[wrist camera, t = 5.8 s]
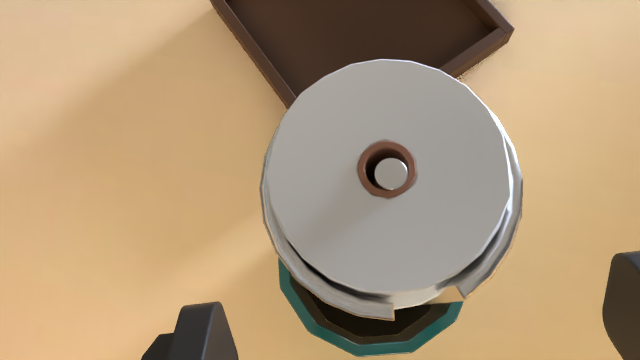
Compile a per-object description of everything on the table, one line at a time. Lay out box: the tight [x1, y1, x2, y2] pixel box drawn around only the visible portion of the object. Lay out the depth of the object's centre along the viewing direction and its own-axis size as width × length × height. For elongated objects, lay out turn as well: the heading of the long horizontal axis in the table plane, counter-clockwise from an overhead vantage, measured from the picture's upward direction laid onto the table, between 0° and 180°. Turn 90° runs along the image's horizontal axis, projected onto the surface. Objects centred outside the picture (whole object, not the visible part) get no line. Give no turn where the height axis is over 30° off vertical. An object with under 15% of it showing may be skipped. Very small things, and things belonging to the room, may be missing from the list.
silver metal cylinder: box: [259, 59, 523, 321], centre depth 24 cm, size 6×6×25 cm
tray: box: [210, 0, 514, 109], centre depth 40 cm, size 17×17×2 cm
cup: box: [278, 257, 464, 357], centre depth 32 cm, size 11×11×8 cm
